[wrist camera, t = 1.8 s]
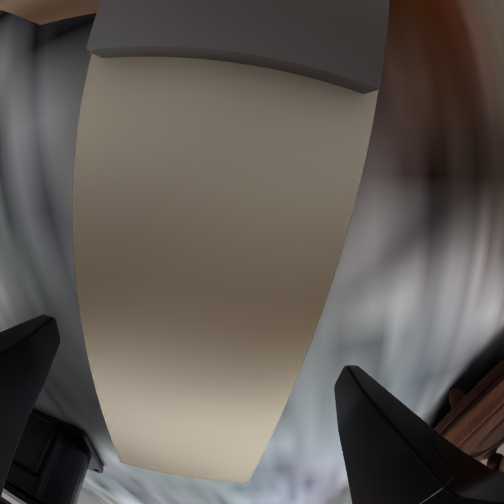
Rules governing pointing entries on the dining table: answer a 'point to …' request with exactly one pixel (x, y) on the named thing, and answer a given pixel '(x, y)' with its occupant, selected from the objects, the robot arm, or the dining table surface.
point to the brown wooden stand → (478, 419)
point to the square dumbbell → (49, 9)
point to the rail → (215, 212)
